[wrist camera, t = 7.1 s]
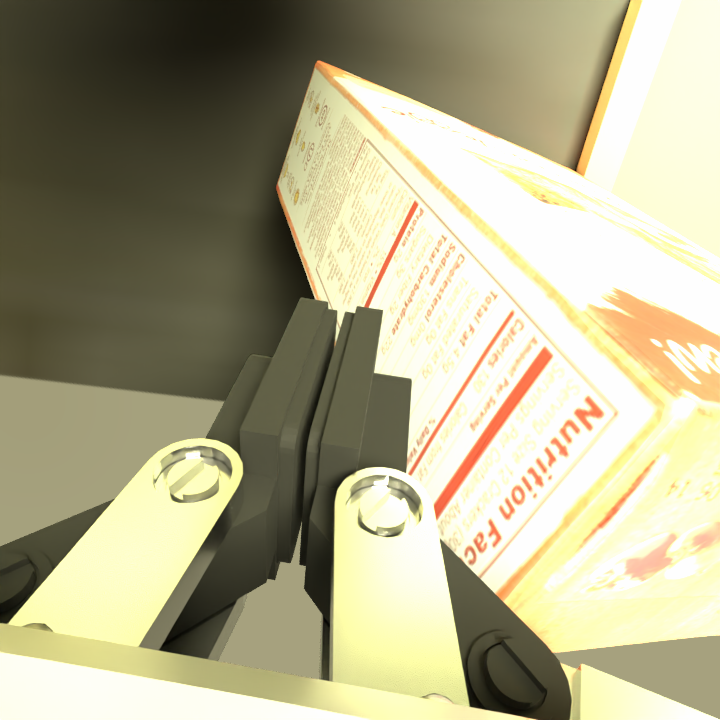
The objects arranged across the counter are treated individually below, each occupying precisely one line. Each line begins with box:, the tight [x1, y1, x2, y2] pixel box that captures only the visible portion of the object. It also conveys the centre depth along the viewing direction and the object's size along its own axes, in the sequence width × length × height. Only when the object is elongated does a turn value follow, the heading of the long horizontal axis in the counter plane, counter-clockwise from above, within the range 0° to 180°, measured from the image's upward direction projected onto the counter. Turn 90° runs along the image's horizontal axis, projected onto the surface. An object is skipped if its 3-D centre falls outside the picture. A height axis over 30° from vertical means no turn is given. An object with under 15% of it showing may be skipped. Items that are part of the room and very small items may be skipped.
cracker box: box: [276, 61, 720, 653], centre depth 17 cm, size 14×6×21 cm, turn 66°
